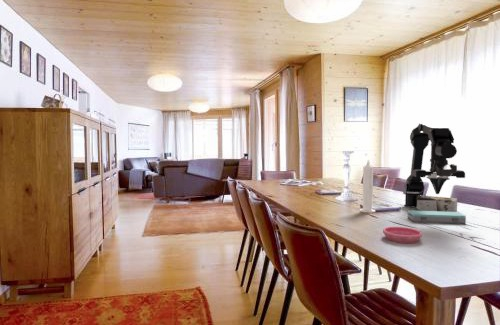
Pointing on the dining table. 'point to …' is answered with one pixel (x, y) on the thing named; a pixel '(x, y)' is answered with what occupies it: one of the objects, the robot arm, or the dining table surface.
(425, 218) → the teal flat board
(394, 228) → the saucer
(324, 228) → the dining table surface
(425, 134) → the robot arm
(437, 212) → the cover
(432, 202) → the coffee box
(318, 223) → the dining table surface
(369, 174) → the candle
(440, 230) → the dining table surface
